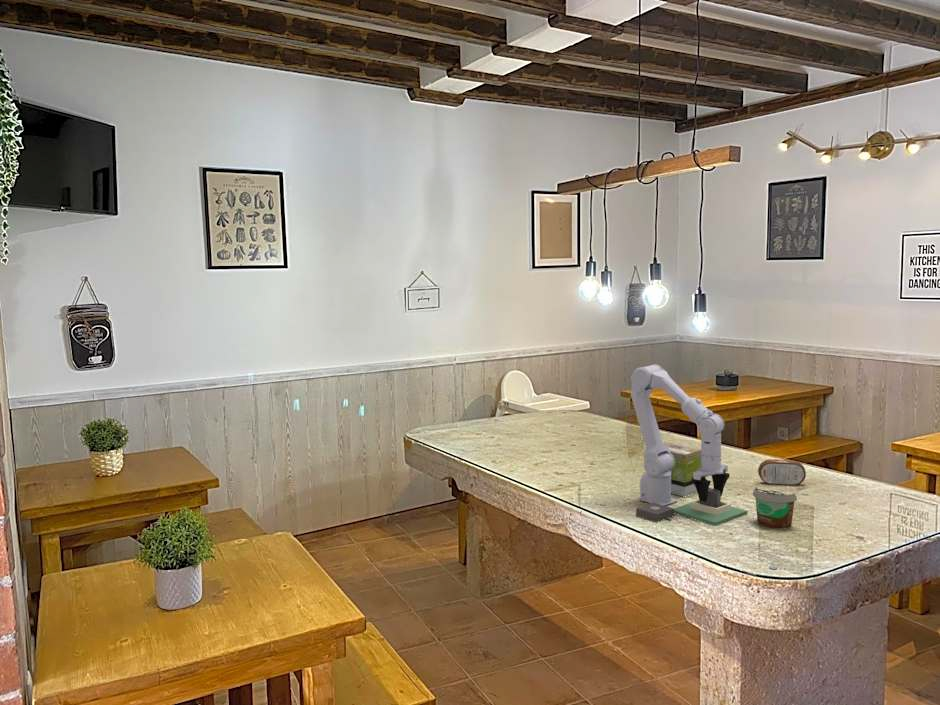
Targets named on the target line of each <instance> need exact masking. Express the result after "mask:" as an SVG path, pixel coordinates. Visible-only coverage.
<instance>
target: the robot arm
mask: <svg viewBox="0 0 940 705" xmlns="http://www.w3.org/2000/svg"><path fill="white" fill-rule="evenodd" d="M630 380H631V388H630V398H631V400H632V404H633V408H634V411H635V414H636V417H637V421H638V425H639V427H640V431H641V435H642V438H643V442H644V445H645V449H644V452H643V455H642V456H643V459H644V460H643V461H644V463H643V469H644V470H645V472H644V473H643V474H641V476H640V480H639V481H640V482H639V483H640V484H639V489H640V490H639V492H640V493H639V498H638V501H640V500H641V502H644V501H645V502H644V503H647V502H648V503H647V504H650V503H657V504H660V505H664V506H667V505H670V504H671V505H672V504H674V503H677V502H678V500H677V499H674V498H672V494H671V470H672V469H673V468H674V466H675V459H674V457H673V455H672V454H671V453H670V451H669V448H668V447H667V446H666V445H665V444H664V442H663V439H662V436H661V432H660V428H659V425H658V422H657V418H656V416H655V412H654V408H653V405H652V402H651V401H652V400H651V399H650V395H651V393H652V392H653V390H654V389H661V390H663V391H664V392H665V393H666V394H668V396H670V397H671V398H672V399H674V400H675V401H676V402H677V403H679V405H681V412H683V413H684V414H685V415H686V416H687V417H688V418H689V420H691V421H692V422H693V423H694V424H696V426H697V430H698V433H700V436H701V438H700V440H701V441H700V444H701V446H700V450H701V468H700V469H699V470H698V471H696V472H694V473H693V477H692V481H693V483H694V485H695V487H696V489H697V493H696V494H697V496H698V499H699V500H700V501H703V502H706V501H707V495H708V488H710V485H711V483H713V484H712V485H713V489H716V490H720V493H721V497H722V496H723V492H724V489H725V485H726V483H727V481H728V479H729V478H730V473H729V472H728V471H729V470H728V469H729V468H728V464H722V456H721V455H722V431H723V430H724V429H725V421H724V419H723V418H722V416H721V415H720V414H718V413H717V414H716V413H714V412H713V411H712V410H709V409H708V408H707V407H706V406H705V405H704V404H703V403H702V399H700V398H696V397H691V396H689V395H688V394H687V393H686V392H685V391H684V390H683V389H682V388H681V387H680V385H678V384H677V383H676V382H675V381H674V380H673V379H672V378H671V376H670V375H669V374H668V372H667V371H666V370H665V369H663V368H662V366H660V365H659V364H654V363H653V364H650V365H647V366H641V367H637V368H636V369H635V370H634V371H633V372H632V374H631V376H630ZM710 476H711V479H712V481H711V480H709V479H707V477H710Z"/></svg>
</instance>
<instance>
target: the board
mask: <svg viewBox="0 0 940 705" xmlns="http://www.w3.org/2000/svg"><path fill="white" fill-rule="evenodd" d="M674 513H676V514H675V515H677V514H679V515H678V516H681V515H682V516H681V517H684V516H686V517H685V518H687V517H689V518H688V519H691V518H693V519H692V520H694V519H696V520H695V521H697V520H699V521H698V522H701V521H702V522H701V523H704V522H706V523H705V524H708V523H709V524H708V525H711V524H712V525H711V526H714V525H715V527H716V526H719V525H722V524H725V523H727V522H730V521H732V519H733V520H735V519H738V518H741V517H743V516H746V515H748V510H746V509H743V508H739V507H734V506H732V504H731V503H729V502H726V501H725V502H724V501H721V500H720V507H718V508H714V507H710V506H706V505H703V504H700V500H699V498H698V499H695V500H692V501H690V502H688V503H686V504H682V505H679V506H677V507H674ZM740 516H741V517H740ZM734 518H735V519H734ZM729 520H730V521H729ZM721 523H722V524H721Z"/></svg>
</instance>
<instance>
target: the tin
mask: <svg viewBox="0 0 940 705" xmlns="http://www.w3.org/2000/svg"><path fill="white" fill-rule="evenodd" d="M757 472H758V477H759V478H760V479H761V481H762V482H764V483H765V484H768V485H775V486H791V485H795V486H799V485H800V484H802V483H803V482H804V481H805V479H806V476H807V473H806V469H805V467H804V464H802V463H801V462H800V461H797V460H792V459H791V460H790V459H789V460H788V459H786V460H785V459H766V460H763V461H762V462H761V463H760V464H759V466H758V469H757Z"/></svg>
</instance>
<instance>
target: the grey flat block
mask: <svg viewBox="0 0 940 705" xmlns="http://www.w3.org/2000/svg"><path fill="white" fill-rule="evenodd" d="M674 508H675V507H674ZM674 508H673V507H669V506H667V505H665V506H664V505H660V504H657V503H647V504H645V505H641V506H639V507H638V506H637V507H636V508H635V509H636V510H635V515H638V516H637V517H639V516H641V517H640V518H642V517H644V518H643V519H645V518H647V519H646V520H649V519H650V520H649V521H652V520H653V521H652V522H655V521H656V522H655V523H659V522H662V521H664V520H663V519H665V520H666V519H668V521H670V522H672V521H673V519H672V518H673V517H672V516H674V517H675V514H674ZM669 517H671V518H669ZM661 520H662V521H661ZM671 520H672V521H671ZM658 521H659V522H658Z"/></svg>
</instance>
